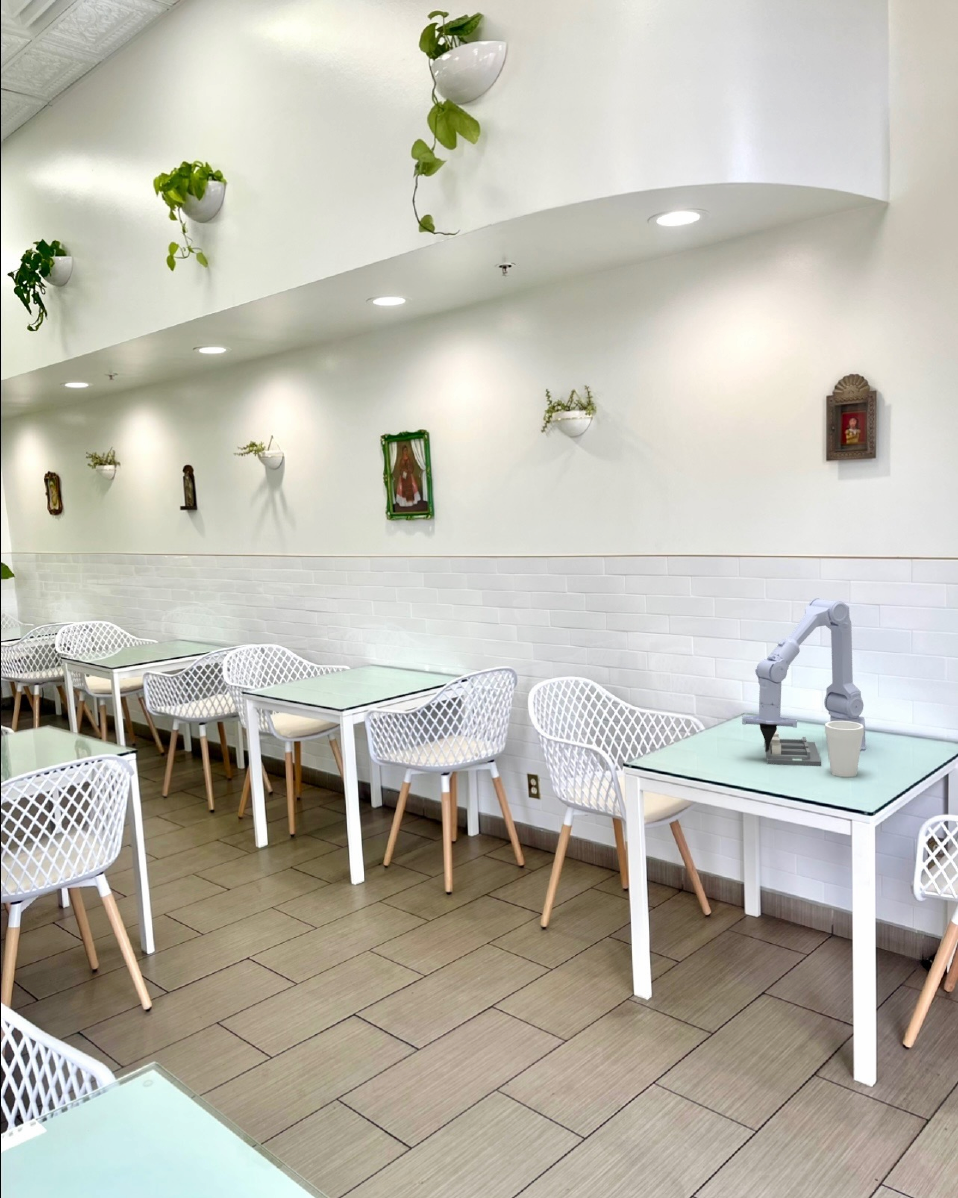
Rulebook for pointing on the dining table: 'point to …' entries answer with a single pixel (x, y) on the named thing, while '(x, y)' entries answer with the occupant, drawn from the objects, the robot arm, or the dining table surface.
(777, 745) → the tab
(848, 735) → the foam cup
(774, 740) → the tab
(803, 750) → the switch bank
